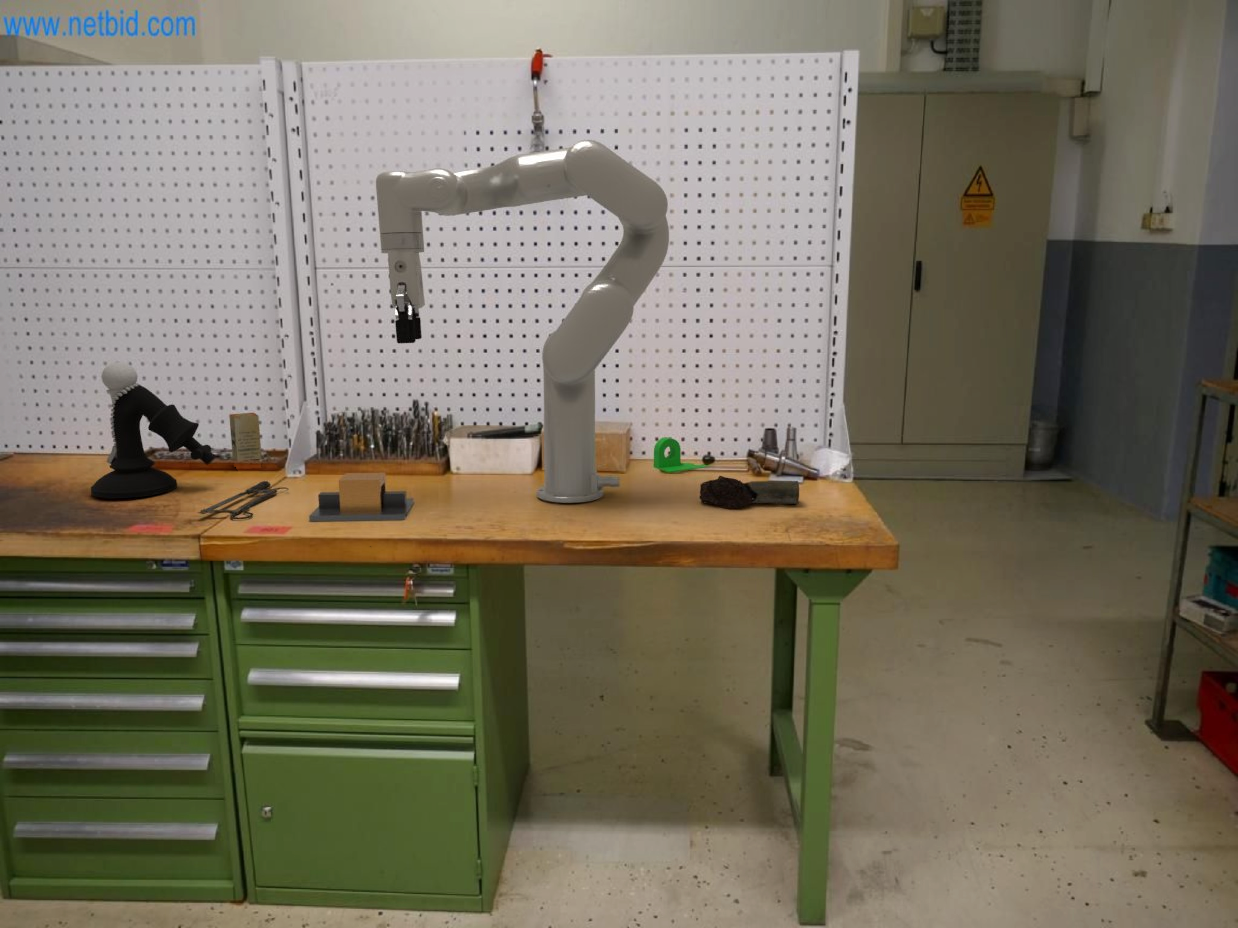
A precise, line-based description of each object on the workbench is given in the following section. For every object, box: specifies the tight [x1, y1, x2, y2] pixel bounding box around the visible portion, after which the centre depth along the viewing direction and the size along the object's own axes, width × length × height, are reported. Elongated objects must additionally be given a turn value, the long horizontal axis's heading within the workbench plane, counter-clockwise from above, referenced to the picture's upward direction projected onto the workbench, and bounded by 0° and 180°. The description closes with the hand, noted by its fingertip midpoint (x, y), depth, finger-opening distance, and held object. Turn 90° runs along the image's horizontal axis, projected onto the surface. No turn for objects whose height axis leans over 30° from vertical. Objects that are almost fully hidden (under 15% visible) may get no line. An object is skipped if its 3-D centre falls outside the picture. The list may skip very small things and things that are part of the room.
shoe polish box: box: [228, 412, 263, 461], centre depth 204 cm, size 5×5×12 cm
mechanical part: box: [653, 436, 711, 474], centre depth 201 cm, size 12×6×8 cm, turn 121°
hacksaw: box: [197, 480, 289, 520], centre depth 175 cm, size 24×10×1 cm, turn 171°
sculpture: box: [90, 361, 217, 499], centre depth 184 cm, size 15×24×25 cm, turn 92°
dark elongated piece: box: [698, 475, 800, 510], centre depth 172 cm, size 18×7×6 cm, turn 87°
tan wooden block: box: [338, 472, 387, 511], centre depth 169 cm, size 7×6×6 cm
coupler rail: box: [308, 490, 415, 522], centre depth 169 cm, size 16×12×4 cm
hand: (409, 341), depth 172 cm, fingers open, 9 cm apart
